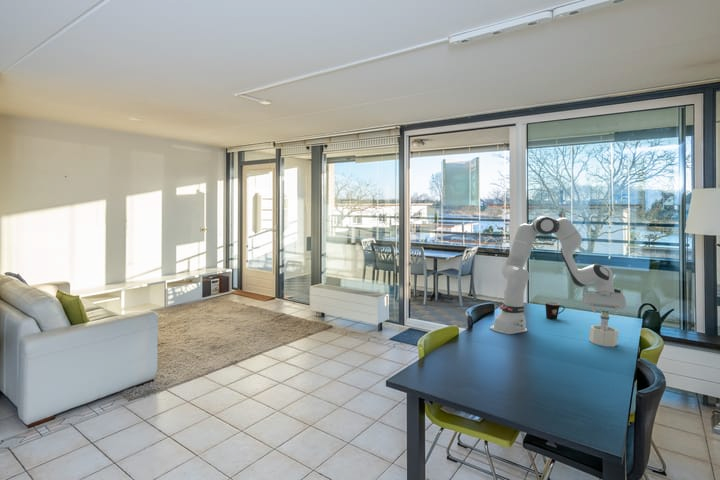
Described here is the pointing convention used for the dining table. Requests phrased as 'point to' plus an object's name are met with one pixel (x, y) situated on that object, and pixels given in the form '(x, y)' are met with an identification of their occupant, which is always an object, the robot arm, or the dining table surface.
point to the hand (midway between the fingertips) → (604, 313)
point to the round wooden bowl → (603, 336)
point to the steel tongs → (604, 320)
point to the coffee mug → (552, 310)
